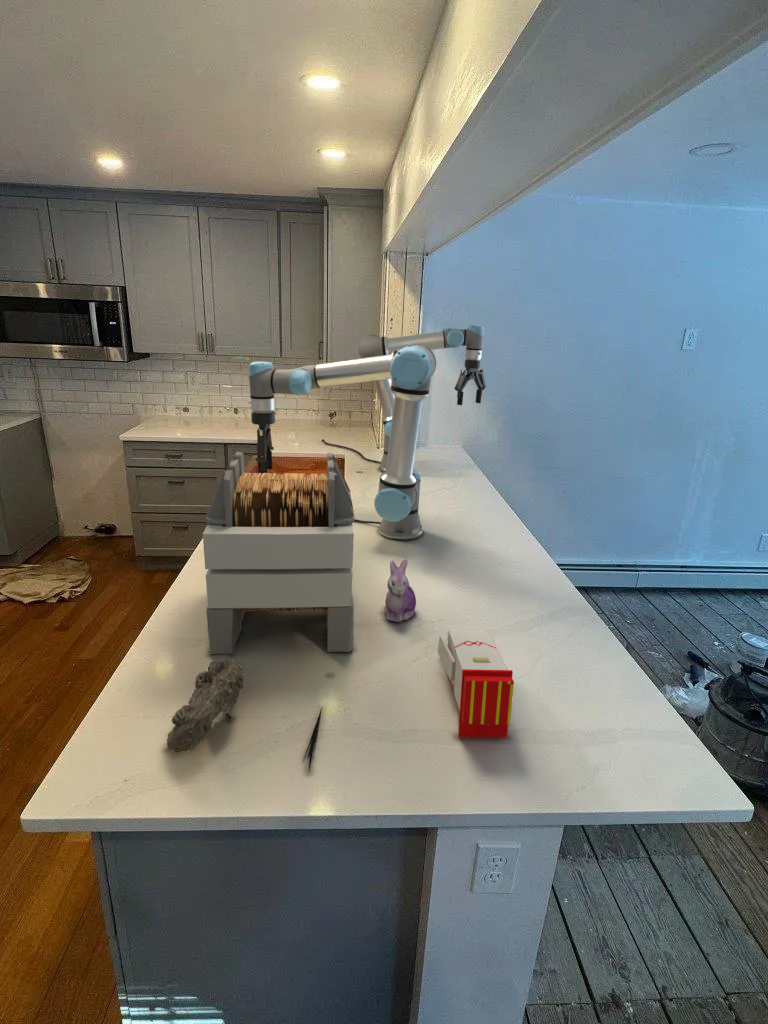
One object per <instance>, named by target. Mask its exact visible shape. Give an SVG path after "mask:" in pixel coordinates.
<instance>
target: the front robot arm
mask: <svg viewBox="0 0 768 1024" xmlns="http://www.w3.org/2000/svg"><path fill="white" fill-rule="evenodd" d="M436 369H437V358H436V355H435V354H434V352H433V350H430V349H429V348H428V347H426V346H424V345H412V346H407V347H404V348H402V349H401V350H395V351H393V352H392V353H391V354H390V355H383V356H375V357H368V358H361V357H360V358H355V359H347V360H341V361H333V362H326V363H318V364H310V365H309V364H308V365H307V364H306V365H302V366H300V367H295V368H290V369H278V368H274V365H273V362H271V361H252V362H250V363H249V365H248V380H249V381H248V382H249V394H250V395H249V396H250V400H248V404H250V410H251V413H250V414H251V415H250V419H251V424H253V425H257V426H258V428H257V429H256V437H257V439H256V458H255V462H257V466H258V467H257V468H258V474H259V473H261V474H263V473H268V470H273V451H274V449H275V447H274V446H273V442H272V441H273V440H272V433H271V432H272V429H271V425H274V424H275V423H276V413H275V409H276V403H275V402H276V401H275V394H279V395H280V394H281V395H293V396H294V395H295V396H301V395H302V396H304V395H308V394H309V393H310V392H311V390H312V389H319V388H327V387H334V386H343V385H351V384H358V383H359V384H360V383H368V382H373V381H377V380H385V379H391V392H392V393H393V394H394V396H395V399H394V407H393V415H392V423H391V431H390V439H389V447H388V455H387V463H386V471H385V472H381V474H380V475H379V482H378V489H377V493H376V494H375V497H374V504H373V506H374V509H375V512H376V513H377V515H378V516H379V517H380V518H381V521H374V520H373V521H372V520H362V519H356V518H354V522H357V523H362V524H374V525H379V526H378V533H379V534H380V535H381V536H382V537H385V538H387V539H389V540H395V541H410V540H415V539H418V538H420V537H421V536H422V535H423V525H422V524H421V518H420V515H419V507H420V506H419V505H420V490H421V482H422V480H421V476H422V475H421V473H420V471H418V470H416V469H414V465H415V460H416V459H415V458H416V452H417V444H418V436H419V429H420V423H421V415H422V409H423V408H422V407H423V401H424V400H425V399H426V398H427V397H429V394H430V389H431V382H432V377H433V376H434V374H435V372H436Z"/></svg>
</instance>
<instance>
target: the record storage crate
mask: <svg viewBox="0 0 768 1024" xmlns="http://www.w3.org/2000/svg"><path fill="white" fill-rule="evenodd" d="M244 455H245V454H244V451H242V452H241V451H236V452H235V454H234V456H233V458H232V459H230V463H229V465H228V467H227V469H226V470H224V473H223V475H222V478H221V479H220V482H219V484H218V487H217V489H216V491H215V494H214V495H213V497H212V500H211V502H210V505H209V507H208V509H207V511H206V515H205V523H206V524H207V525H206V527H205V529H204V531H203V533H202V543H203V558H204V569H205V570H206V573H205V584H206V587H205V588H206V598H207V599H206V601H207V607H206V623H207V634H208V641H209V642H208V643H209V650H208V653H209V655H216V654H217V655H218V654H221V655H222V654H223V655H226V654H227V655H228V654H230V655H231V654H232V653H233V650H234V648H235V647H236V643H237V641H238V638H239V636H240V634H241V630H242V626H241V625H242V623H241V622H243V621H244V618H245V615H246V612H272V611H273V612H279V611H280V612H284V611H286V612H288V611H289V612H291V611H292V612H293V611H294V612H295V611H303V612H304V611H322V610H323V611H326V636H327V637H326V641H327V645H326V646H327V652H329V653H330V652H332V653H333V652H343V653H349V652H351V651H352V650H354V617H355V616H354V614H355V607H354V598H353V575H354V573H353V566H354V563H353V562H354V537H355V536H354V535H355V532H354V527H353V524H354V522H355V521H354V519H355V511H354V506H353V505H354V504H353V500H352V495H351V489H350V487H349V485H348V483H347V480H346V479H345V476H344V474H343V472H342V470H341V467H340V465H339V463H338V461H337V459H336V457H335V455H334V453H333V452H327V453H326V456H327V457H326V468H327V469H326V473H320V474H318V473H307V474H306V473H303V472H302V473H299V472H298V473H297V472H294V473H293V472H292V473H291V472H290V473H288V472H283V473H276V472H273V473H271V472H267V473H263V474H261V473H259V472H253V473H252V472H245V468H246V467H245V456H244Z"/></svg>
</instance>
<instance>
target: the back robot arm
mask: <svg viewBox="0 0 768 1024" xmlns="http://www.w3.org/2000/svg"><path fill="white" fill-rule="evenodd" d="M484 330H485V328H484V326H483V325H478V324H477V325H475V324H469V325H468V326H467V328H451V327H449V328H448V327H447V328H443V329H442V331H435V332H427V333H419V334H412V335H403V336H397V337H387V336H379V335H377V334H368V335H367V336H364V337H363V338H362V339H361V340H360V341H359V343H358V346H357V352H358V355H359V358H360V359H361V358H368V357H375V356H383V355H390V354H391V353H392V352H393V351H395V350H401V349H402V348H404V347H407V346H412V345H424V346H426V347H428V348H429V349H430V350H431V351H435V350H442V349H451V348H453V349H456V348H460V347H464V346H465V347H466V348H465V354H464V355H465V356H464V358H465V359H464V360H465V361H464V368H465V369H460V374H459V376H458V379H457V381H456V384H455V386H454V390H455V391H456V392H457V395H456V398H457V400H456V405H457V406H463V402H464V401H463V400H464V391H463V390H464V389H465V387H466V386H467V384H468V382H469V381H471V380H473V381H474V383H475V385H476V387H477V388H476V393H475V404H482V396H483V391H484V390H485V389H486V387H487V386H486V382H485V376H484V369H482V368H481V366H482V365H481V364H482V361H481V359H482V355H483V353H482V351H483V344H484V332H485V331H484ZM391 381H392V379H385V380H377V381H372V382H373V385H374V389H375V392H376V395H377V398H378V401H379V404H380V408H381V411H382V413H383V418H382V420H381V421H382V424H383V431H384V433H383V437H384V438H383V455H382V458H381V461H379V460H374V459H370V458H367V457H365V456H364V455H363V454H362V453H361V452H360V451H358V450H356V449H354V448H352V447H347V446H345V445H339V444H335V443H329V442H326V440H325V439H324V438H323V439H321V441H320V442H321V443H322V442H323V443H324V444H325V445H327V446H332V447H337V448H341V449H347V450H349V451H352V452H354V453H356V454H358V455H359V456H361V458H362V459H363V460H365V461H367V462H371V463H375V464H379V465H378V470H379V471H380V472H381V473H384V472H385V471H386V463H387V455H388V447H389V439H390V431H391V423H392V415H393V407H394V399H395V396H394V394H393V393H392V392H391Z"/></svg>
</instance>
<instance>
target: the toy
mask: <svg viewBox="0 0 768 1024" xmlns="http://www.w3.org/2000/svg"><path fill="white" fill-rule="evenodd" d="M446 640H447V643H446V641H445V639H444V636H443V635H442V634H439V637H438V646H437V656H438V657H439V659H440V661H441V663H442V666H443V668H444V670H445V672H446V674H447V677H448V679H449V681H450V684H451V687H452V690H453V693H454V697H455V701H456V705H457V708H458V711H459V714H458V715H459V716H458V730H457V731H458V732H457V737H458V738H508V731H509V726H510V725H511V717H512V707H513V697H514V696H513V695H514V684H515V680H514V679H513V673H514V671H513V670H512V669H508V667H507V665H506V662H505V661H504V659H503V658H502V655H501V653H500V651H499V649H498V647H497V643H496V639H495V637H494V635H493V634H491V632H490V631H489V629H467V628H466V629H465V628H463V629H461V628H460V629H459V628H448V630H447V639H446Z"/></svg>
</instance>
